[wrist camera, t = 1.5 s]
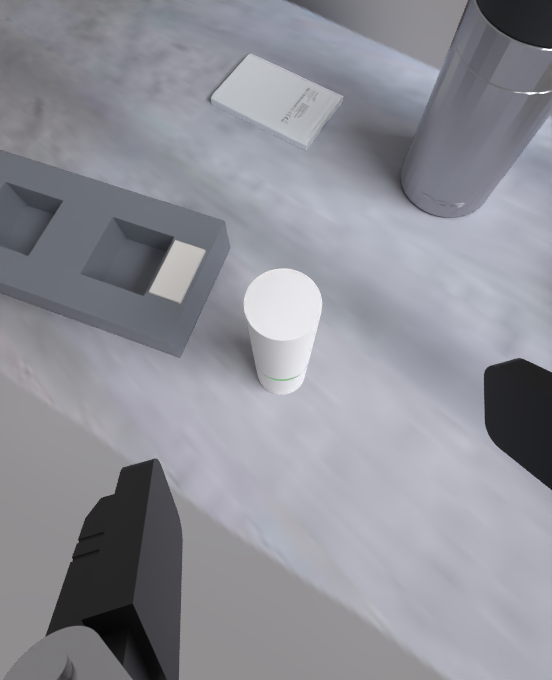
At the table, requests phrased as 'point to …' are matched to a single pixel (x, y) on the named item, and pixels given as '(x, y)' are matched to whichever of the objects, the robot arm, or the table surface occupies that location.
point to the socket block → (106, 253)
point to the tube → (282, 327)
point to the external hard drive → (277, 101)
